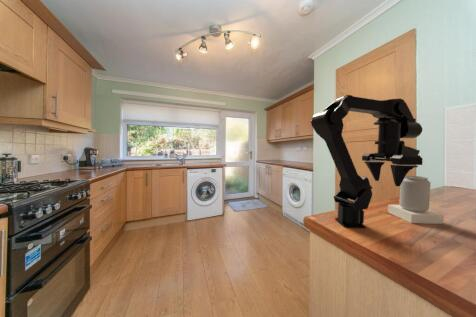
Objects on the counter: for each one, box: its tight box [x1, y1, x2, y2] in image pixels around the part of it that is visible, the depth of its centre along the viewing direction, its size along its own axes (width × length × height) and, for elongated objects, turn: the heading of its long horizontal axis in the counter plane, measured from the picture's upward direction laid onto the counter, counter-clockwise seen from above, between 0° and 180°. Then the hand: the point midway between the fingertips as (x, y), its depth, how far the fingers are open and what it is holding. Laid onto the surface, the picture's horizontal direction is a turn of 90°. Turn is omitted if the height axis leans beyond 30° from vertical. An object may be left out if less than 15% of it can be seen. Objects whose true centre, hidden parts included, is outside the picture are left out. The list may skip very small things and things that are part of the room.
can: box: [398, 175, 432, 212], centre depth 63 cm, size 8×8×12 cm
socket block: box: [387, 204, 445, 225], centre depth 63 cm, size 10×10×3 cm
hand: (386, 183), depth 60 cm, fingers open, 9 cm apart
